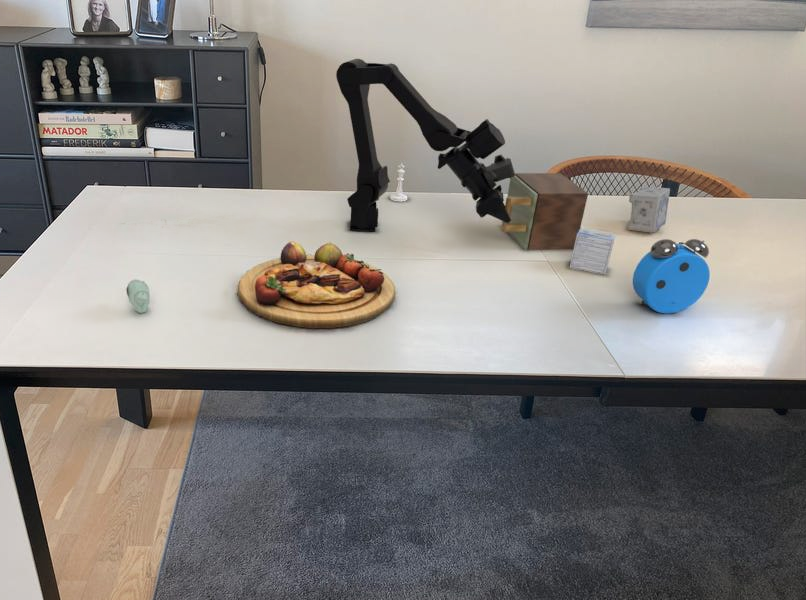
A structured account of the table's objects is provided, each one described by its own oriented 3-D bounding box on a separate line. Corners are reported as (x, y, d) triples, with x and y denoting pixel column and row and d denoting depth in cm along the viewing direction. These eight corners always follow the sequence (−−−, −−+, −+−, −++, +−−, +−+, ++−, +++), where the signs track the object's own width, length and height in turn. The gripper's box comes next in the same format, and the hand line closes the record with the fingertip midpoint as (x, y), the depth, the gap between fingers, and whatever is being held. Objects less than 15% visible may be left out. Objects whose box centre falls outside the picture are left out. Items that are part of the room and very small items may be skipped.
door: (501, 250, 168) (510, 194, 161) (480, 226, 181) (488, 173, 174) (527, 249, 169) (538, 194, 161) (505, 226, 182) (514, 173, 175)
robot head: (152, 321, 131) (149, 288, 128) (130, 323, 130) (126, 290, 127) (149, 302, 138) (146, 270, 134) (128, 304, 137) (124, 272, 133)
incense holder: (633, 219, 191) (643, 182, 185) (664, 227, 186) (675, 189, 181) (620, 229, 184) (630, 190, 179) (652, 237, 180) (663, 197, 174)
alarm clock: (683, 301, 148) (705, 234, 140) (699, 315, 142) (723, 245, 135) (624, 302, 146) (643, 234, 138) (638, 316, 141) (659, 246, 133)
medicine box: (607, 268, 161) (616, 232, 157) (604, 275, 158) (614, 239, 153) (572, 261, 164) (580, 226, 159) (568, 268, 160) (577, 232, 156)
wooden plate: (275, 346, 125) (275, 304, 121) (216, 276, 149) (214, 240, 145) (425, 313, 138) (429, 274, 134) (348, 254, 162) (350, 220, 158)
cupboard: (528, 250, 169) (539, 193, 161) (505, 226, 182) (515, 173, 175) (575, 249, 170) (588, 193, 163) (549, 226, 184) (560, 173, 176)
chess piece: (407, 202, 196) (411, 166, 191) (390, 201, 196) (393, 165, 191) (406, 196, 200) (410, 161, 195) (389, 195, 200) (392, 160, 195)
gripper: (500, 157, 150) (543, 211, 154) (494, 136, 165) (533, 186, 170) (458, 191, 154) (501, 242, 159) (456, 167, 170) (495, 214, 175)
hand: (508, 220), depth 166 cm, fingers closed, pressing on door
